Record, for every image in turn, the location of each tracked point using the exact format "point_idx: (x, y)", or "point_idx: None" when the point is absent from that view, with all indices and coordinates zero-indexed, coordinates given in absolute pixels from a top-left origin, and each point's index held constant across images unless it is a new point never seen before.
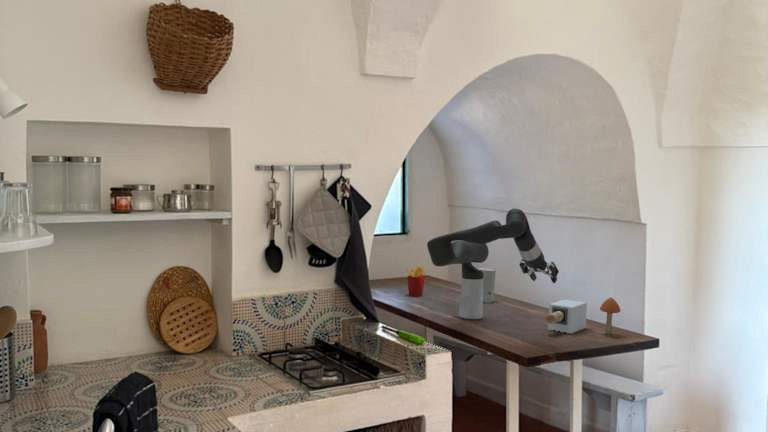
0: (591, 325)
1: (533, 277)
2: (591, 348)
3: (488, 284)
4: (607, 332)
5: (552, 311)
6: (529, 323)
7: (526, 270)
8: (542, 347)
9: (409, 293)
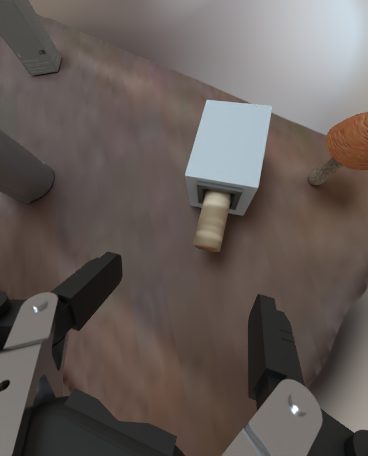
0: None
1: (102, 297)
2: (333, 340)
3: (25, 31)
4: (317, 184)
5: (198, 190)
6: (145, 173)
7: (2, 342)
8: (222, 394)
9: None
